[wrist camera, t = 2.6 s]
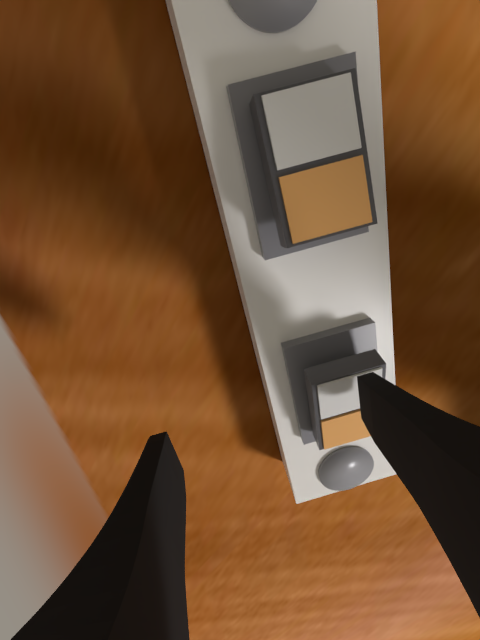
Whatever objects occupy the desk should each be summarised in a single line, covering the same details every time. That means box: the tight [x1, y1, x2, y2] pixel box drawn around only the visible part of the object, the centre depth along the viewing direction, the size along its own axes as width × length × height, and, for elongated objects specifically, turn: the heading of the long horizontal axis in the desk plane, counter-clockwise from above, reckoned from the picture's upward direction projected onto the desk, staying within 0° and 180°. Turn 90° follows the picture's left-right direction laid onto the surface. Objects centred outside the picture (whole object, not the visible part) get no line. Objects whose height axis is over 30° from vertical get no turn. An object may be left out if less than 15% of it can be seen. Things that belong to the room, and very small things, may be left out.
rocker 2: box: [304, 349, 386, 450], centre depth 16 cm, size 4×3×1 cm
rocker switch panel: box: [165, 0, 396, 504], centre depth 16 cm, size 24×6×4 cm, turn 13°
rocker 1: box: [249, 68, 378, 248], centre depth 11 cm, size 4×3×1 cm
